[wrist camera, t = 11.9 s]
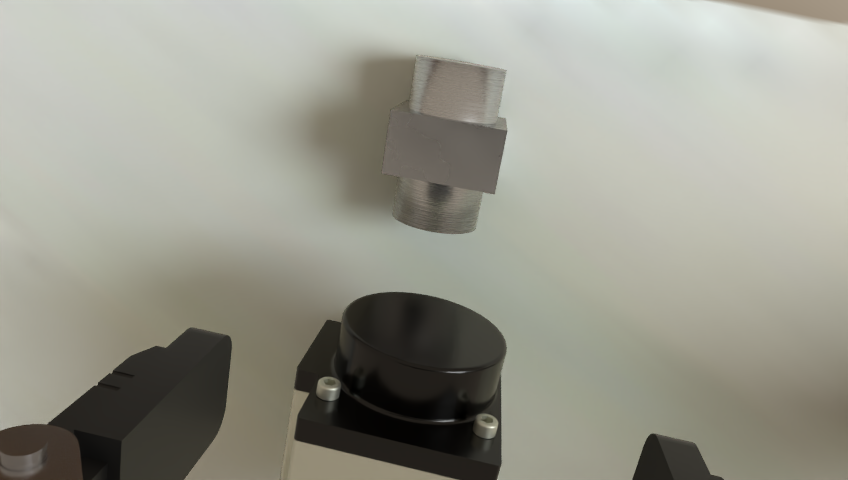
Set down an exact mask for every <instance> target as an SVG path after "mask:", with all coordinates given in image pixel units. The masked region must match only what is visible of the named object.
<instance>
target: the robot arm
mask: <svg viewBox="0 0 848 480" xmlns="http://www.w3.org/2000/svg"><path fill="white" fill-rule="evenodd" d="M231 349H232V342H231V338H230V337H229V336H228V335H223V334H219V333H214V332H210V331H206V330H201V329H197V328H189V329H187V330H186V331H185V332H184V333H183V334H182V335H180V336H179V337H178V338H177V339H176V340H175V341H174V342H172V343H171V344H170V345H169V346H168V347H167V348H163V347H159V346H155V347H152V348H150V349H147V350H145V351H142V352H140V353H137V354H135V355H132V356H130V357H129V358H128V359H126V360H125V361H124V362H123V363H122V364H120V365H119V366H118V367H117V368H115V369H114V370H113V373H112V374H110V373H109V374H108V375H107V376H106V377H104V378H103V379H102V380H101V381H100V382H98V385H97V386H93V387H92V388H91V389H90V390H88V391H87V392H86V393H85V394H84V395H82V396H81V397H80V398H79V399H77V400H76V401H75V402H74V403H73V404H71V405H70V406H69V407H68V408H66V409H65V410H64V411H63V412H62V413H60V414H59V415H58V416H57V417H55V418H54V419H53V420H52V421H51V422H49V423H48V424H47V425H46V424H30V425H21V426H16V427H11V428H8V429H4V430H1V431H0V480H184V479H185V477H186V476H187V475H188V473H189V472H190V471H191V469H192V468H193V467H194V465H195V464H196V463H197V461H198V460H199V459H200V457H201V456H202V455H203V453H204V452H205V451H206V449H207V448H208V447H209V445H210V444H211V443H212V441H213V440H214V438H215V437H216V435H217V433H218V431H219V428H220V426H221V423H222V420H223V417H224V413H225V408H226V399H227V389H228V379H229V369H230V360H231ZM632 480H724V479H723V478H722V477H718V476H714V475H710V473H709V470H708V468H707V466H706V464H705V462H704V460H703V458H702V456H701V454H700V452H699V450H698V447H697V446H696V444H695V443H693V442H689V441H684V440H680V439H675V438H671V437H667V436H662V435H658V434H650V435H649V436H648V438H647V440H646V442H645V444H644V447H643V450H642V453H641V456H640V459H639V462H638V465H637V468H636V471H635V473H634V476H633V479H632Z"/></svg>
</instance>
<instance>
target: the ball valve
mask: <svg viewBox="0 0 848 480" xmlns="http://www.w3.org/2000/svg"><path fill="white" fill-rule="evenodd" d="M506 350H507V347H506V341H505V339H504V337H503V335H502V333H501V332H500V331H499V330H498V329H497V327H496V326H495V325H494V324H492V323H491V322H490V321H489V320H487V319H486V318H485V317H483V316H481V315H480V314H478V313H476V312H474V311H472V310H471V309H468V308H466V307H464V306H461V305H459V304H456V303H453V302H451V301H448V300H444V299H441V298H437V297H433V296H428V295H422V294H416V293H406V292H385V293H377V294H371V295H367V296H364V297H361V298H359V299H357V300H355V301H353V302H352V303H351V304H350V305H348V306H347V308H346V309H345V311H344V313H343V316H342V322H341V323H340V322H336V321H332V320H327V321H326V322H325V324H324V326H323V327H322V329H321V330H320V332H319V334H318V335H317V337H316V338H315V340H314V342H313V343H312V345H311V346H310V348H309V349H308V351H307V353H306V354H305V356H304V357H303V359H302V361H301V362H300V364H299V365H298V367H297V373H296V379H295V386H294V392H293V398H292V405H291V411H290V418H289V424H288V431H287V437H286V443H285V450H284V456H283V463H282V469H281V476H280V480H497V478H498V474H499V471H500V467H501V370H502V366H503V363H504V359H505V355H506Z"/></svg>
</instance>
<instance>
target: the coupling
mask: <svg viewBox="0 0 848 480" xmlns="http://www.w3.org/2000/svg"><path fill="white" fill-rule="evenodd" d="M506 71H507V70H504V69H499V68H495V67H490V66H484V65H479V64H474V63H468V62H462V61H456V60H450V59H444V58H438V57H431V56H423V55H417V57H416V63H415V70H414V76H413V83H412V89H411V96H410V101H405V102H403V103H402V104H400V105H398V106H396V107H395V108H393V109H391V111H390V118H389V125H388V132H387V138H386V145H385V152H384V159H383V166H382V174H387V175H392V176H398V180H397V187H396V193H395V200H394V206H393V213H392V215H393V217H394V218H395V219H397V220H398V221H400V222H402V223H404V224H406V225H409V226H411V227H414V228H418V229H422V230H426V231H431V232H437V233H446V234H463V233H469V232H472V231H474V230H475V229H476V224H477V219H478V214H479V209H480V204H481V199H482V194H483V192H485V193H490V194H495V189H496V184H497V179H498V174H499V169H500V164H501V159H502V154H503V149H504V145H505V140H506V135H507V124H506V118H501V117H498V112H499V107H500V102H501V97H502V91H503V86H504V81H505V76H506Z"/></svg>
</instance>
